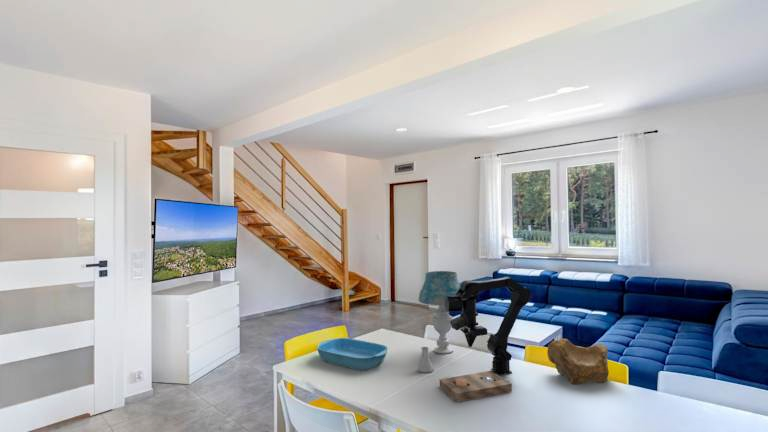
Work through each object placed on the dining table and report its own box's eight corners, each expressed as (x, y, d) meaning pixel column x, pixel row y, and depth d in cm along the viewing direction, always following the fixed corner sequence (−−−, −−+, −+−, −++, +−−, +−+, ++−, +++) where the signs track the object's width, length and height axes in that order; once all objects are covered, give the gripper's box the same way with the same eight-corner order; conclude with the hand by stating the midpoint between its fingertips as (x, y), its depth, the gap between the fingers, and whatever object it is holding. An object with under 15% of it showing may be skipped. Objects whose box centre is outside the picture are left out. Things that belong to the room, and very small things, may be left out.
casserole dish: (396, 360, 184) (396, 345, 185) (371, 376, 166) (370, 359, 166) (337, 348, 204) (336, 335, 204) (308, 361, 185) (307, 347, 185)
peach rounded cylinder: (463, 385, 151) (463, 377, 151) (469, 390, 147) (469, 381, 147) (453, 387, 149) (453, 379, 149) (459, 391, 145) (459, 383, 145)
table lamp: (410, 351, 196) (408, 273, 197) (439, 340, 212) (437, 269, 213) (447, 362, 178) (445, 277, 179) (476, 350, 195) (473, 272, 196)
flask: (433, 373, 166) (432, 350, 166) (416, 372, 168) (415, 350, 168) (434, 367, 173) (433, 345, 173) (418, 366, 175) (417, 344, 175)
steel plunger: (489, 383, 154) (489, 375, 154) (496, 387, 150) (496, 379, 150) (480, 384, 153) (480, 376, 153) (486, 389, 149) (486, 380, 149)
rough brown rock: (549, 386, 152) (550, 350, 151) (546, 368, 168) (546, 335, 167) (616, 395, 145) (617, 357, 144) (606, 375, 160) (607, 340, 159)
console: (491, 377, 160) (490, 370, 160) (512, 391, 147) (511, 383, 147) (439, 386, 153) (439, 379, 153) (456, 401, 139) (456, 393, 139)
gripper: (442, 307, 171) (443, 342, 171) (463, 317, 153) (464, 356, 153) (464, 305, 174) (465, 339, 174) (487, 314, 157) (488, 352, 156)
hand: (470, 346), depth 164 cm, fingers closed
